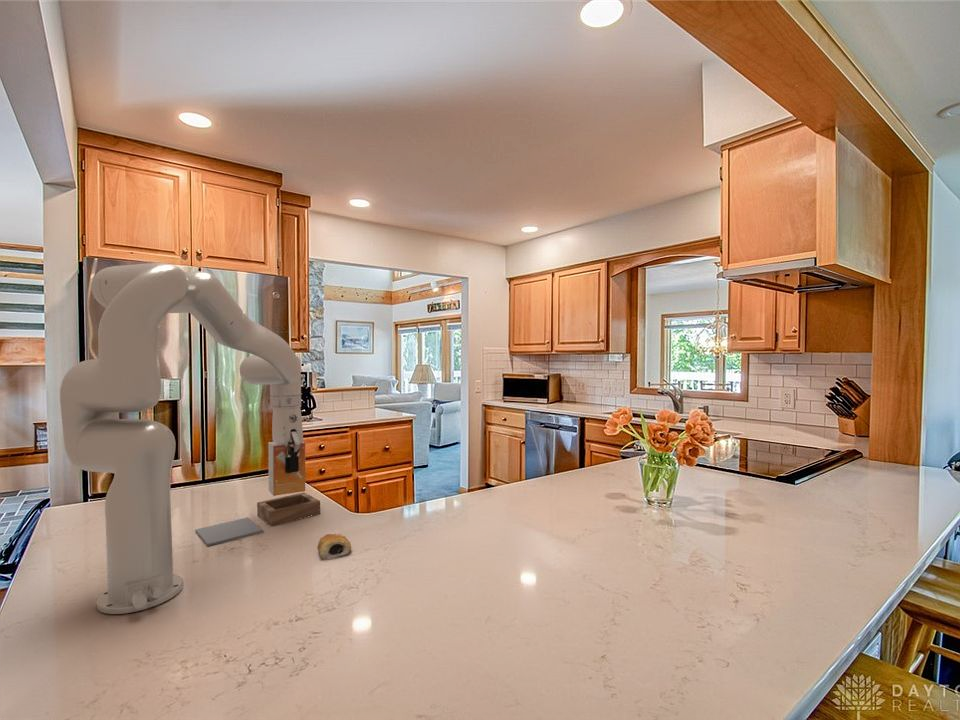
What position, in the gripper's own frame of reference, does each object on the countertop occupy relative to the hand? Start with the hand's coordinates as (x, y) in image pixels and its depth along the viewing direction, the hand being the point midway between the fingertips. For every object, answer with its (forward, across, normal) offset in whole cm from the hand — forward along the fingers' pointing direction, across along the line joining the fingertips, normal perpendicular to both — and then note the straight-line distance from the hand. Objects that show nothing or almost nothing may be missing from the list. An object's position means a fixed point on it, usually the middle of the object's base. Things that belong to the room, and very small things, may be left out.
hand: (286, 469), depth 126 cm
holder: (+12, 0, -1) cm, 12 cm away
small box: (+6, 0, 0) cm, 6 cm away
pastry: (+13, -30, +1) cm, 32 cm away
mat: (+13, -2, +14) cm, 19 cm away
